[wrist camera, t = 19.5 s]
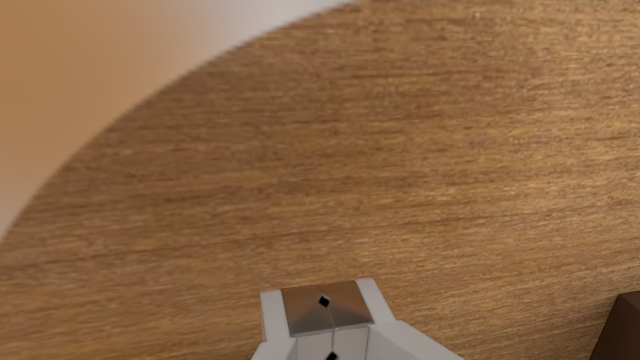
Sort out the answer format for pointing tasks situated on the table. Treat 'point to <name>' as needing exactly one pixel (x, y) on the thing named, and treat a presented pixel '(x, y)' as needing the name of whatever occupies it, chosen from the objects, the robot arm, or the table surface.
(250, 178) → the table surface
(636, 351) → the stand
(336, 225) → the table surface
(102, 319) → the table surface
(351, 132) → the table surface
